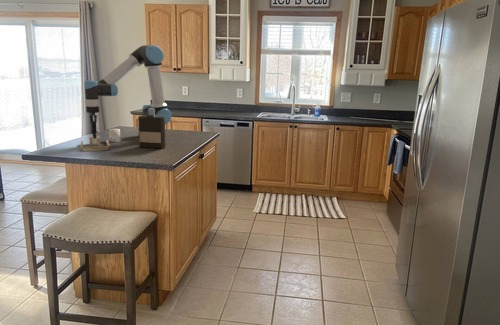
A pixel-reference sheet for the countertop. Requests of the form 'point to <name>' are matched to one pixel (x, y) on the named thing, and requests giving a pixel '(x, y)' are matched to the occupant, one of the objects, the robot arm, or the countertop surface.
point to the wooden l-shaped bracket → (95, 147)
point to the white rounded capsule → (114, 135)
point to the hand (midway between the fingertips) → (95, 143)
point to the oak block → (92, 141)
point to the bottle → (151, 130)
